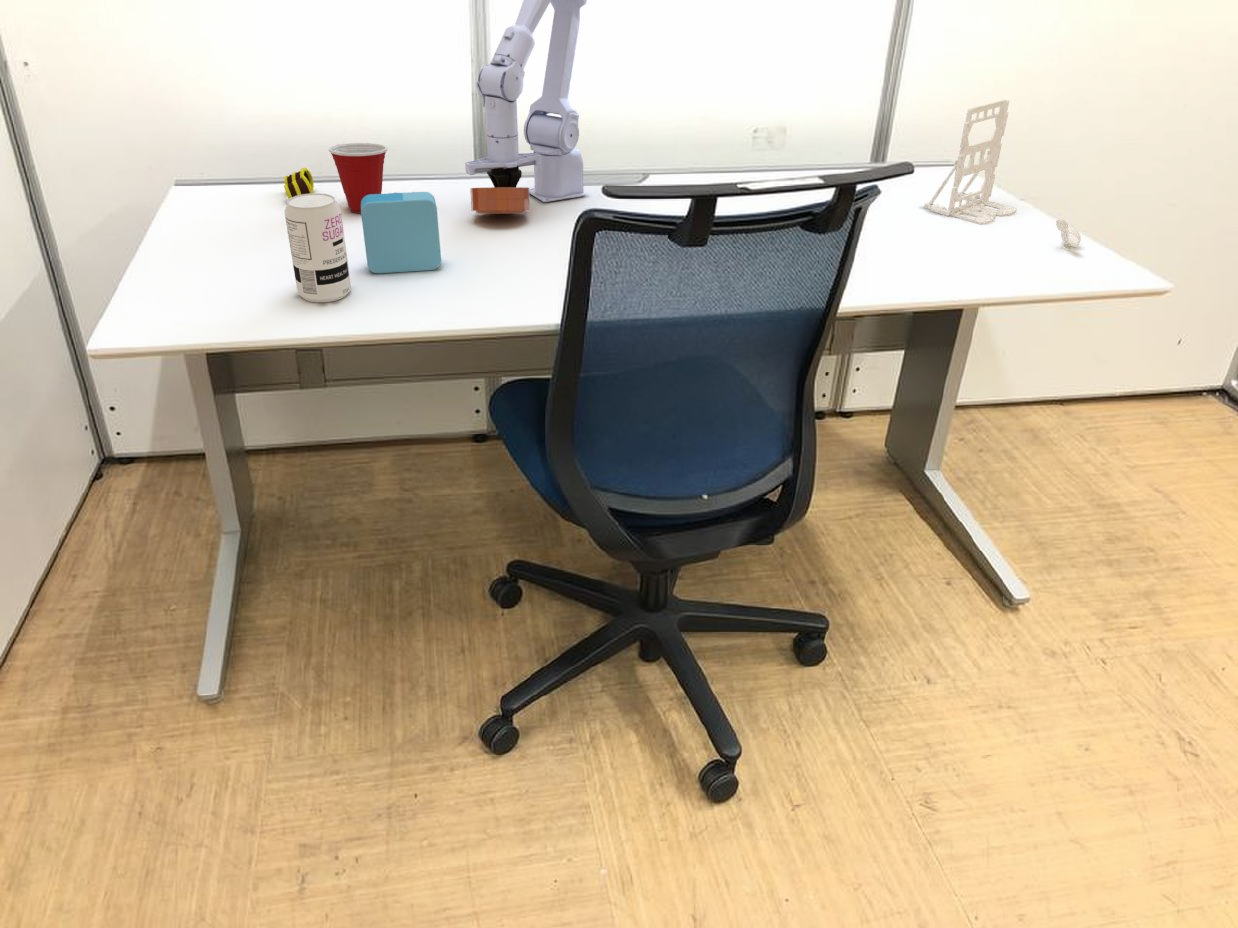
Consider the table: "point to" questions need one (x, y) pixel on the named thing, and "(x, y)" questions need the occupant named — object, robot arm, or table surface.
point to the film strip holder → (977, 171)
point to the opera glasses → (299, 183)
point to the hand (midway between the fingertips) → (505, 207)
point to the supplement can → (318, 247)
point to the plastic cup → (359, 170)
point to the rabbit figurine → (1068, 234)
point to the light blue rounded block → (401, 232)
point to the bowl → (500, 200)
